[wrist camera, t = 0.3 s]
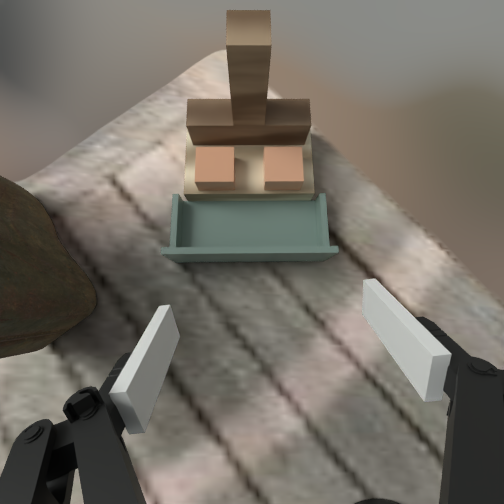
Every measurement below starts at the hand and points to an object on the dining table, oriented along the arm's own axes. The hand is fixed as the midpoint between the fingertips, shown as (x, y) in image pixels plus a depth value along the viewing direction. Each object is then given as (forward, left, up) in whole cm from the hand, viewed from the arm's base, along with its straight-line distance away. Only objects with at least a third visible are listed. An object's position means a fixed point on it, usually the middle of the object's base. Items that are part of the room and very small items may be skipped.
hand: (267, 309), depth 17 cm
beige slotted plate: (+21, +1, -17) cm, 27 cm away
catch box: (+11, +1, -17) cm, 20 cm away
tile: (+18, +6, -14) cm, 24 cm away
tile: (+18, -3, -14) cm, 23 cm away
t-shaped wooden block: (+25, +1, -14) cm, 29 cm away
